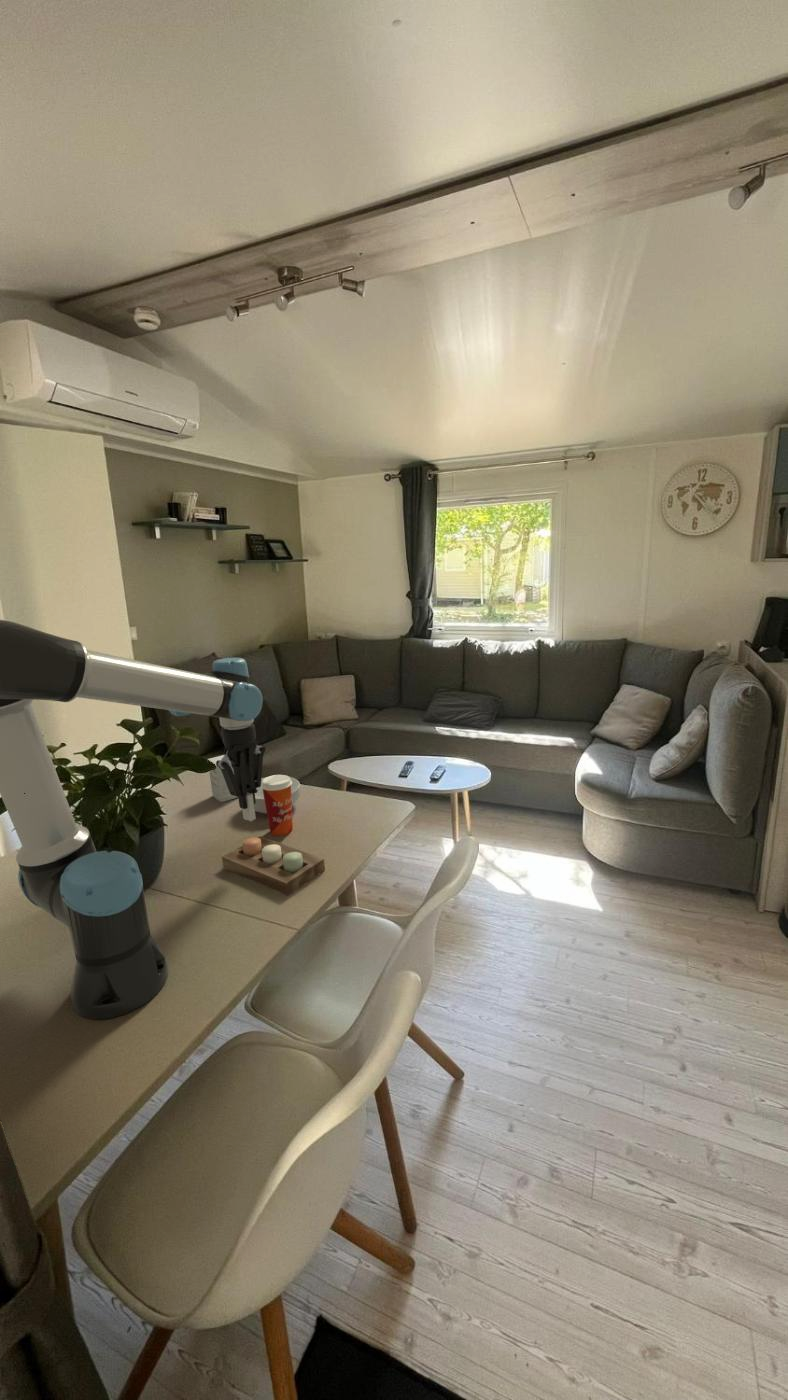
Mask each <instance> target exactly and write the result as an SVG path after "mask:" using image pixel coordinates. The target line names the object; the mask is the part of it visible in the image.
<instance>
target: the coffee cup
mask: <svg viewBox="0 0 788 1400" xmlns="http://www.w3.org/2000/svg"><path fill="white" fill-rule="evenodd" d="M289 777H290V776H288V775H285V774H274V775H270V776H267V777H264V778H265V779H263V781H262V784H261V788H262V789H263V794H264V800H265V806H266V811H267V814H266V817H267V822H268V827H269V832H270V834H271V835H272V836H275V837H283V836H287V835H289V834H291V833H292V832H293V805H292V794H291V785H292V781H291V780H290V778H289Z"/></svg>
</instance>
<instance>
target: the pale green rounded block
mask: <svg viewBox="0 0 788 1400" xmlns="http://www.w3.org/2000/svg"><path fill="white" fill-rule="evenodd" d="M283 866H284V870H285V871H287V872H290V873H292V874H294V873H295V872H297V871H299V870H300V869H302V868H303V860H302V854H301V853H299V852H290V853H287V854H285V855H284V856H283Z"/></svg>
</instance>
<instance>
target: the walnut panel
mask: <svg viewBox="0 0 788 1400" xmlns="http://www.w3.org/2000/svg"><path fill="white" fill-rule="evenodd" d="M257 838H260V839H261V847H262V849H263V848H264V847H265V846H268V845H273V844H275V845H279V846H280V847H281V854H282V860H280V861H278V862H277V863H275V864H273V865H269V864H267V863H264V862H263V856H262V852H260V853H258V854H257V855H255V856H253V857H249V856H246V855H244V854H243V846H242V845H241V846H238V848H236V849H234V850H232V851H230V852H228V853H226V854H224V855H223V856H221V860H222V865H223V869H225V870H228V871H230V872H231V873H234V874H236V875H239V876H241V877H244V878H246V879H248V880H250V881H253V882H255V883H258V884H260V885H262V886H264V887H267V888H270V889H271V890H273V891H276V892H278V893H281V894H283V895H285V896H289V895H291V894H292V893H294V892H295V891H297V890H298V889H299V888H301V887H302V886H304V885H305V883H306V884H307V883H308V882H310V881H312V880H313V879H314V878H316V877H317V876H319V875H320V874H321V872H322V871H323V872H324V870H326V867H325V859H324V858H323V857H319V856H316V855H314V854H311V853H309V852H306V851H303V850H300V849H299V848H298V849H297V848H294V847H292V846H289V845H286V844H283V843H280V842H278V841H276V840H275V841H274V840H272V839H269V838H266V837H263V836H258V837H257ZM290 852H299V853H301V854H302V860H303V868H302V869H300V870H299V871H297V872H295V873H294V874H292V873H290V872H287V871H285V870H284V866H283V856H284V855H285V854H287V853H290ZM323 872H322V873H323ZM319 873H320V874H319ZM318 874H319V875H318ZM315 876H316V877H315Z"/></svg>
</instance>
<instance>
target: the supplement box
mask: <svg viewBox="0 0 788 1400" xmlns="http://www.w3.org/2000/svg"><path fill="white" fill-rule="evenodd" d="M223 757H224V754H222V755H218V756H215V757H210V758H207V761H208V760H209V761H210V762H212V763H213V764H215V766H216V769H215V770H213V771H210V772H209V771H208V772H209V777H210V778H209V779H210V786H211V793H212V797H214V798H215V799H216V800H217V801H219V802H220V803H225V802H226V801H230V800H232V799H233V800H234V799H236V798H237V799H238V797H237V796H233V795H231V794H230V792H229V790H228V787H227V784H226V782H225V779H224V776H223V774H222V771H221V769H220V768H219V767H218V766H217V765H216V762H217V761H218V760H220V761H221V759H222V758H223ZM229 763H230V764H231V762H230V761H229ZM230 767H231V768H232V765H230ZM232 771H233V768H232ZM233 774H234V771H233Z"/></svg>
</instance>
